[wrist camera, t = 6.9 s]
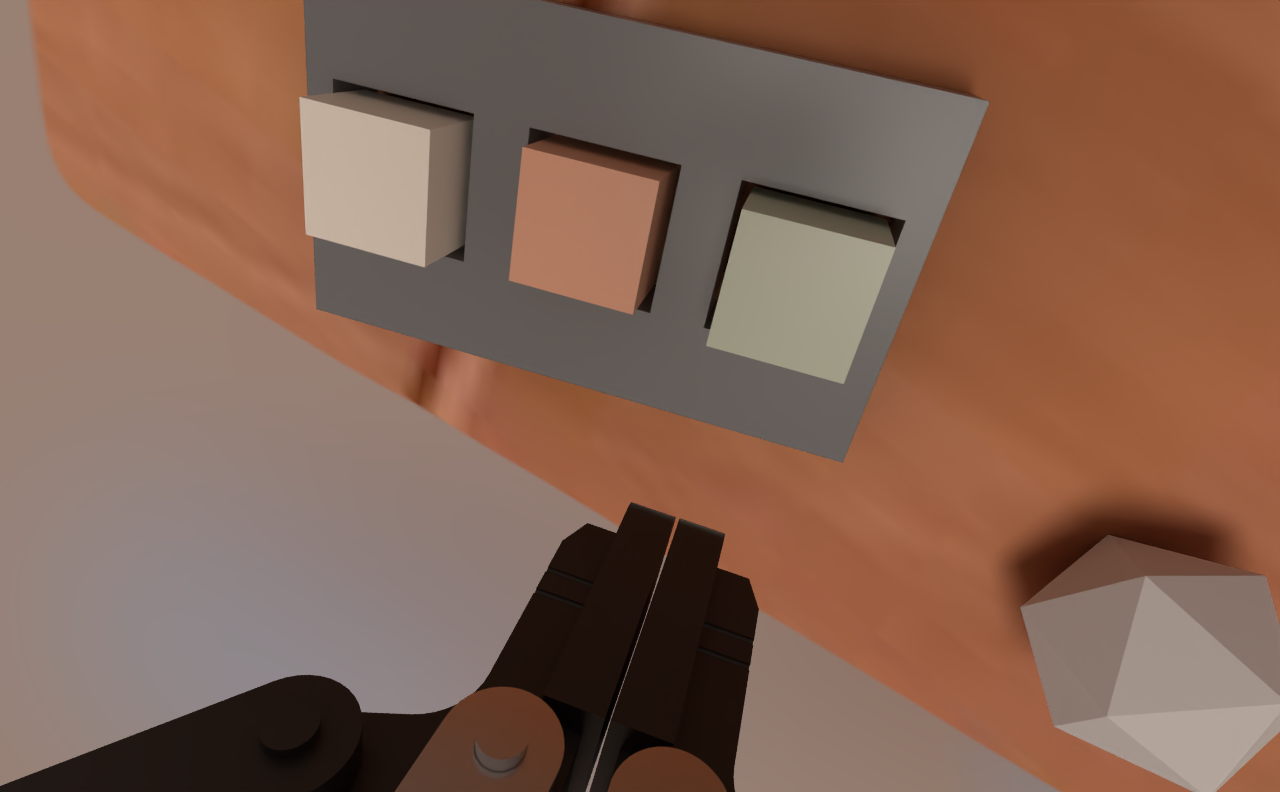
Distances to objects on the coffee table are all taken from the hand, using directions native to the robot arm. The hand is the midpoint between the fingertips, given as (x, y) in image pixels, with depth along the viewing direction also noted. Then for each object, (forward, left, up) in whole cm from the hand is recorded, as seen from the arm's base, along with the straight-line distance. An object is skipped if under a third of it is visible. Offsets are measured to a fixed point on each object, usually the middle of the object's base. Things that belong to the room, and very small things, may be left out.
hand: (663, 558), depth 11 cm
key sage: (0, +2, -19) cm, 19 cm away
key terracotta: (0, -6, -20) cm, 21 cm away
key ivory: (0, -14, -19) cm, 24 cm away
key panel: (0, -6, -20) cm, 21 cm away
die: (+11, +20, -21) cm, 31 cm away
